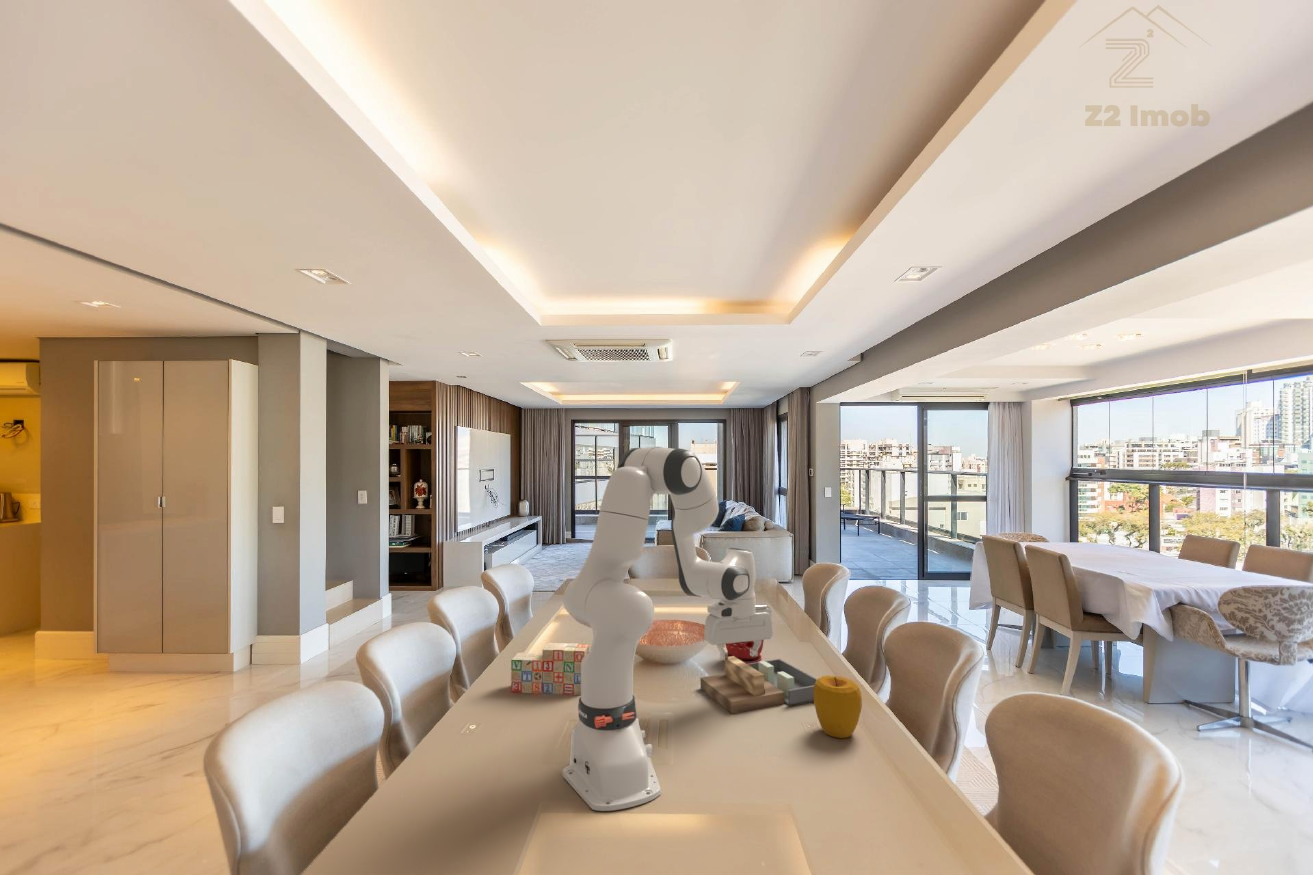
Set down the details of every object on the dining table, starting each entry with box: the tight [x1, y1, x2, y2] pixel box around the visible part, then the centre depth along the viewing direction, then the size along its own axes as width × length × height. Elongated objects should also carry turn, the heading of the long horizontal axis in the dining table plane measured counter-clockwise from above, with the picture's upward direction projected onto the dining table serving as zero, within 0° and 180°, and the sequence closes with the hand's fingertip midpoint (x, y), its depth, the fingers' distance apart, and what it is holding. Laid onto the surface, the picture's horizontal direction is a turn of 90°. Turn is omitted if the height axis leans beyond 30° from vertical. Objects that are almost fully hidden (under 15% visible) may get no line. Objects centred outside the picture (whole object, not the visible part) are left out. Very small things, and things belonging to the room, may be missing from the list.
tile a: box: [777, 671, 794, 697], centre depth 153 cm, size 5×5×2 cm
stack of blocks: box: [510, 642, 590, 696], centre depth 159 cm, size 21×6×12 cm, turn 85°
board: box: [700, 673, 786, 715], centre depth 153 cm, size 18×16×3 cm
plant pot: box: [725, 640, 764, 664], centre depth 180 cm, size 13×13×12 cm
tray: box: [747, 658, 818, 707], centre depth 158 cm, size 22×12×4 cm, turn 22°
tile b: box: [758, 660, 774, 684], centre depth 162 cm, size 5×5×2 cm
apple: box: [813, 675, 863, 739], centre depth 131 cm, size 11×11×13 cm
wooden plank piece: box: [724, 656, 765, 696], centre depth 154 cm, size 16×3×5 cm, turn 22°
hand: (739, 657), depth 153 cm, fingers open, 8 cm apart
